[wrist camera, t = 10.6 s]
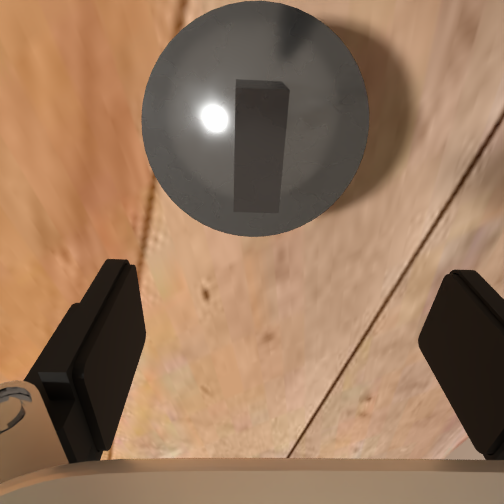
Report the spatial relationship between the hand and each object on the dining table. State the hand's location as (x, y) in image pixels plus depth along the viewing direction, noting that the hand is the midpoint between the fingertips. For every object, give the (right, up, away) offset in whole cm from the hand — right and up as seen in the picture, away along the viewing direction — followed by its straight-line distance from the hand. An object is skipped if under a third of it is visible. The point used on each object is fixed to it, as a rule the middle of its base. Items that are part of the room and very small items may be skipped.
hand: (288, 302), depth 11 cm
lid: (-1, +11, +16) cm, 19 cm away
